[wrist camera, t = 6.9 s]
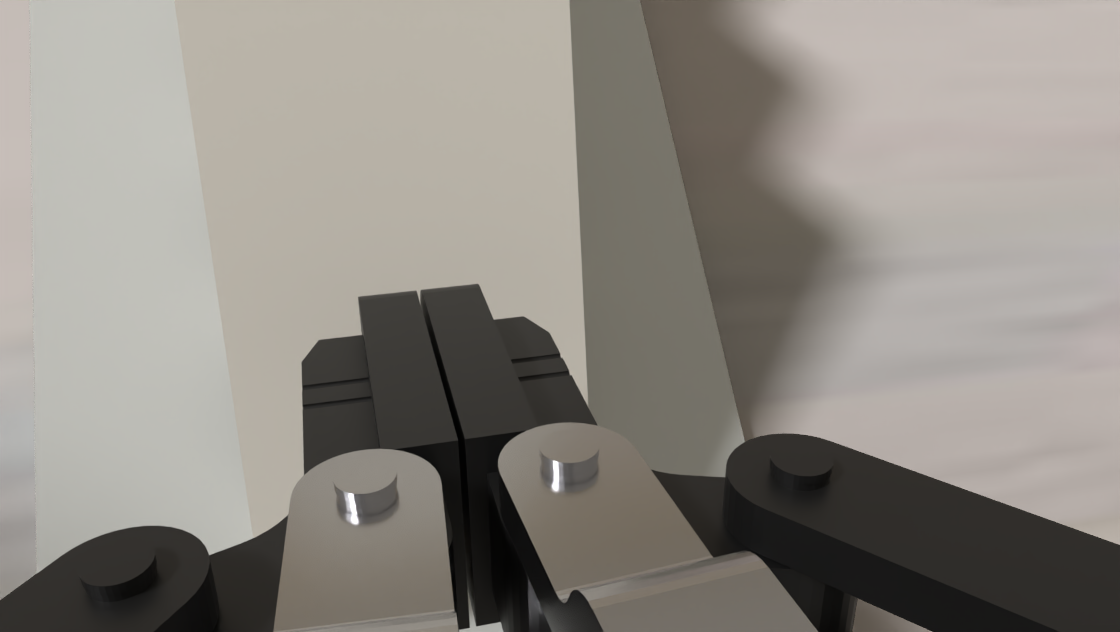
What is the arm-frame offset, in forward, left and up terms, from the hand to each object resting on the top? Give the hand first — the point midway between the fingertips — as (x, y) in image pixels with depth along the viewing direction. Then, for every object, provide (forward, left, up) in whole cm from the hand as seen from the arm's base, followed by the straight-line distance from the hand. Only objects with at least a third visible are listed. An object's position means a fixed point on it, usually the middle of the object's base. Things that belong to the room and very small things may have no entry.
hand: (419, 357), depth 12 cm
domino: (0, -2, -4) cm, 5 cm away
